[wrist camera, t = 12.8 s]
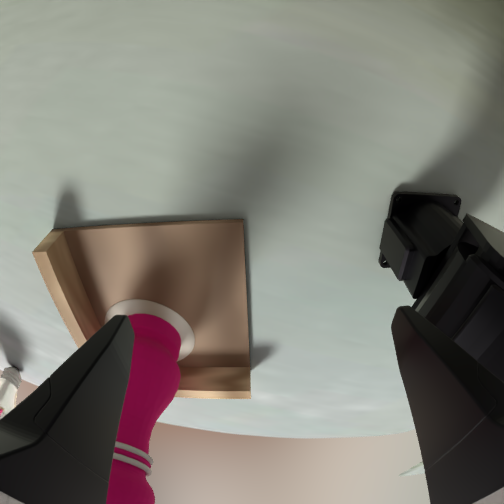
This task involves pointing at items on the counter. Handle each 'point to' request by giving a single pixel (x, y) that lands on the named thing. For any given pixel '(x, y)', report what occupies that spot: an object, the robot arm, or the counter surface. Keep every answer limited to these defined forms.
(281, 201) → the counter surface
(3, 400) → the light bulb
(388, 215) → the robot arm
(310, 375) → the counter surface
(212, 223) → the brown flat rimmed piece
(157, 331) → the pepper mill
